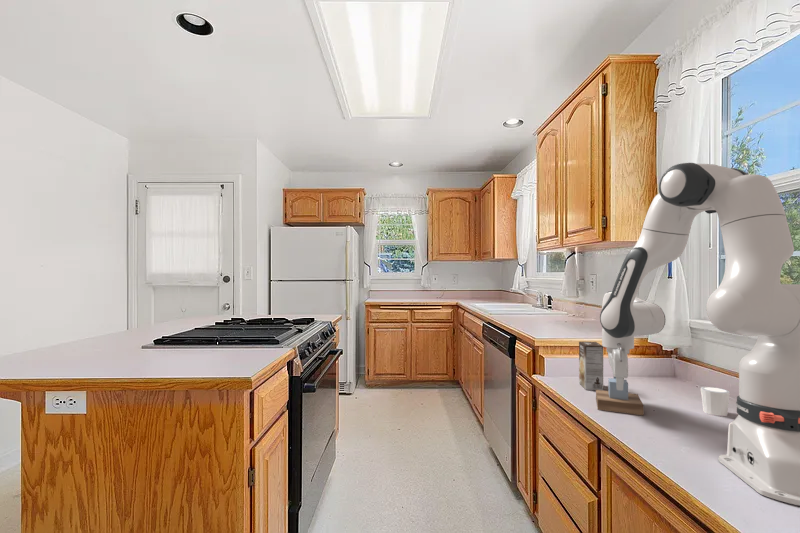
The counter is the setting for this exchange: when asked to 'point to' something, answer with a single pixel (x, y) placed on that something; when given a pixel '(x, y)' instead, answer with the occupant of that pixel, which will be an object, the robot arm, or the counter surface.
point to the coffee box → (591, 365)
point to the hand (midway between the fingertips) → (618, 386)
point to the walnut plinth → (619, 403)
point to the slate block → (617, 393)
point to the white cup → (715, 401)
